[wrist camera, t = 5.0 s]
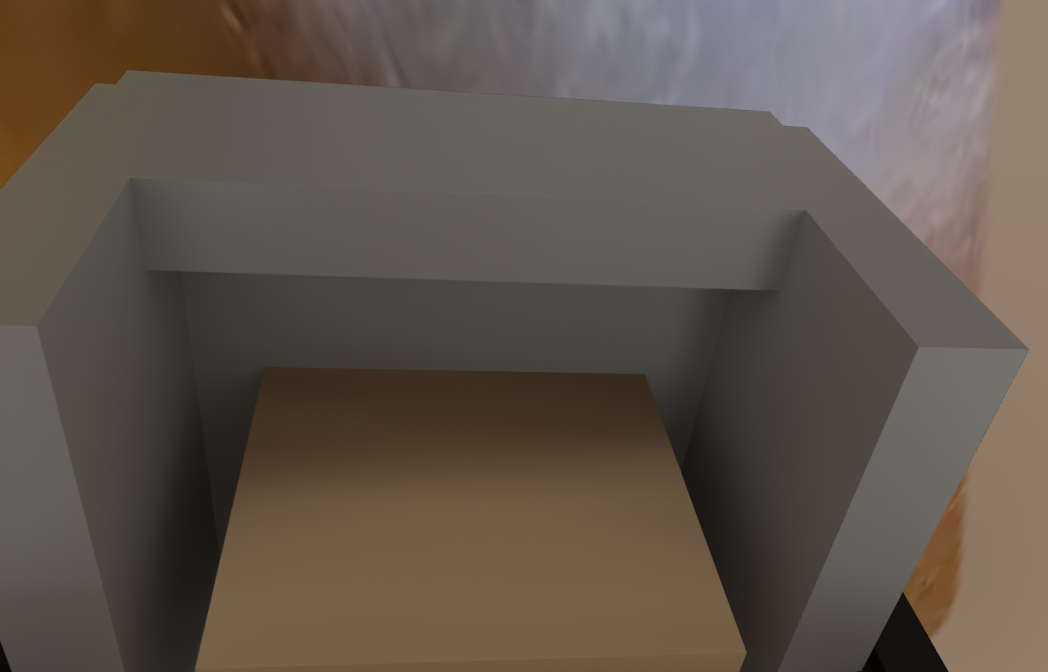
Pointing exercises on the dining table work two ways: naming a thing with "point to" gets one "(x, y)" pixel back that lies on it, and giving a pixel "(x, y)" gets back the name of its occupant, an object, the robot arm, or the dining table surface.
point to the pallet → (465, 335)
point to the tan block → (463, 530)
